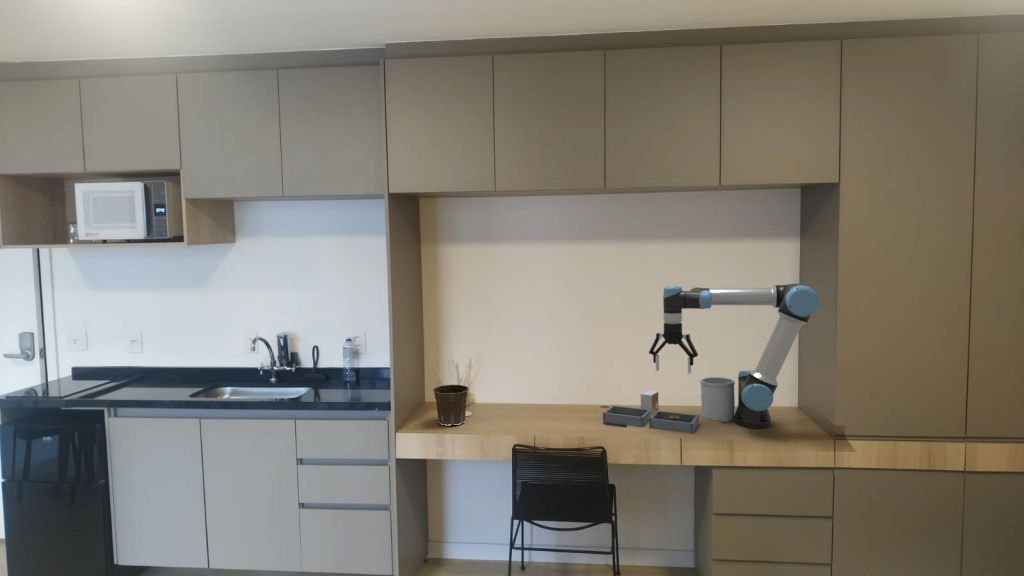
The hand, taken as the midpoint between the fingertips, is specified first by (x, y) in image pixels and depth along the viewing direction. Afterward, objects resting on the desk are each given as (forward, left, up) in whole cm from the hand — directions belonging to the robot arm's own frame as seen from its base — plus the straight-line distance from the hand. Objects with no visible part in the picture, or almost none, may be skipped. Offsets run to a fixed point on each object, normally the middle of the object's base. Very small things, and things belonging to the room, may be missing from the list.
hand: (673, 371), depth 250 cm
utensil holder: (-14, -22, -25) cm, 36 cm away
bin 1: (+21, 0, -25) cm, 32 cm away
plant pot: (+94, +32, -25) cm, 102 cm away
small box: (+15, -15, -25) cm, 33 cm away
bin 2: (0, 0, -25) cm, 25 cm away
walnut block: (0, 0, -24) cm, 24 cm away
